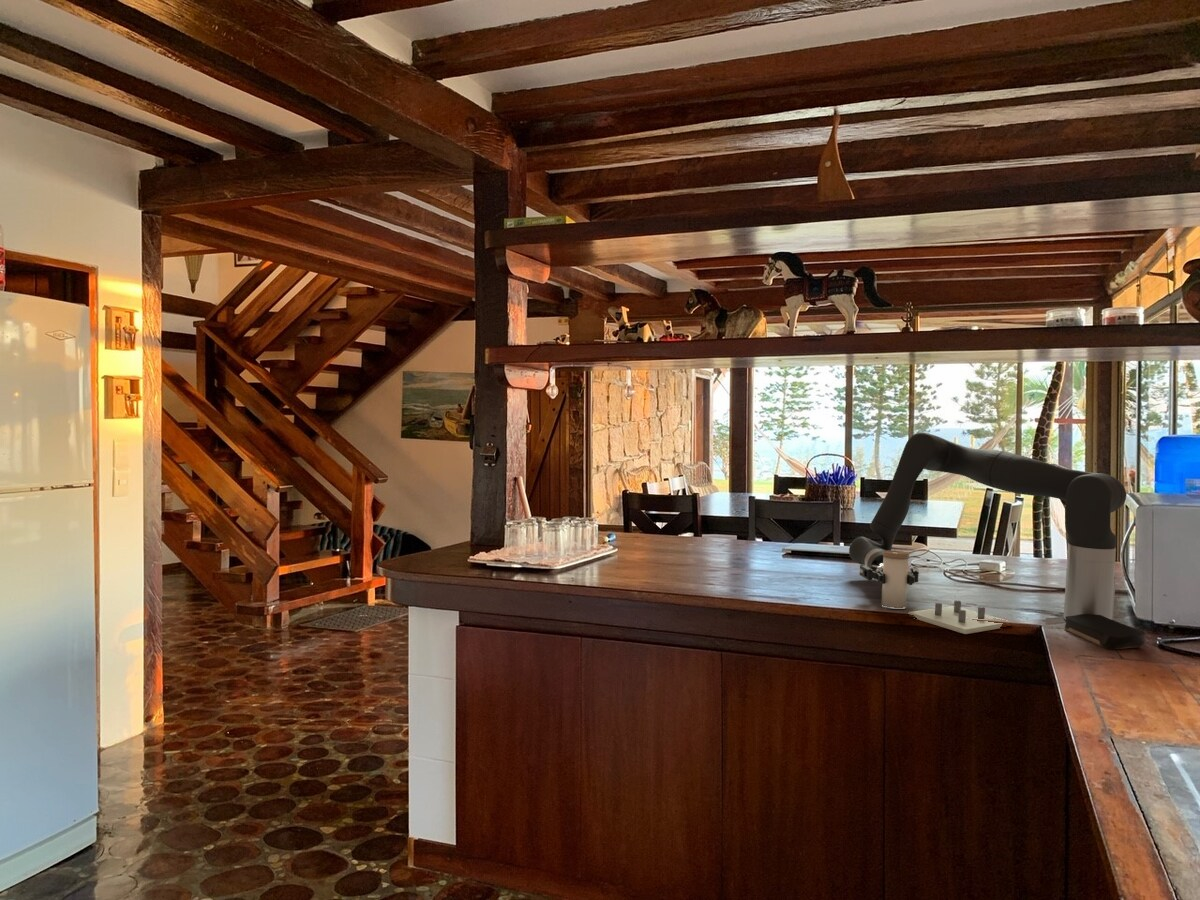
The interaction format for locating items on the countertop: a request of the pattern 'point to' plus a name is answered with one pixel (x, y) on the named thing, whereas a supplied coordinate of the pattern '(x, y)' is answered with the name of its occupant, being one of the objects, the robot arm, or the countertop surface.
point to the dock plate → (957, 618)
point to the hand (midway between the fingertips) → (897, 580)
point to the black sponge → (1105, 631)
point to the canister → (895, 578)
